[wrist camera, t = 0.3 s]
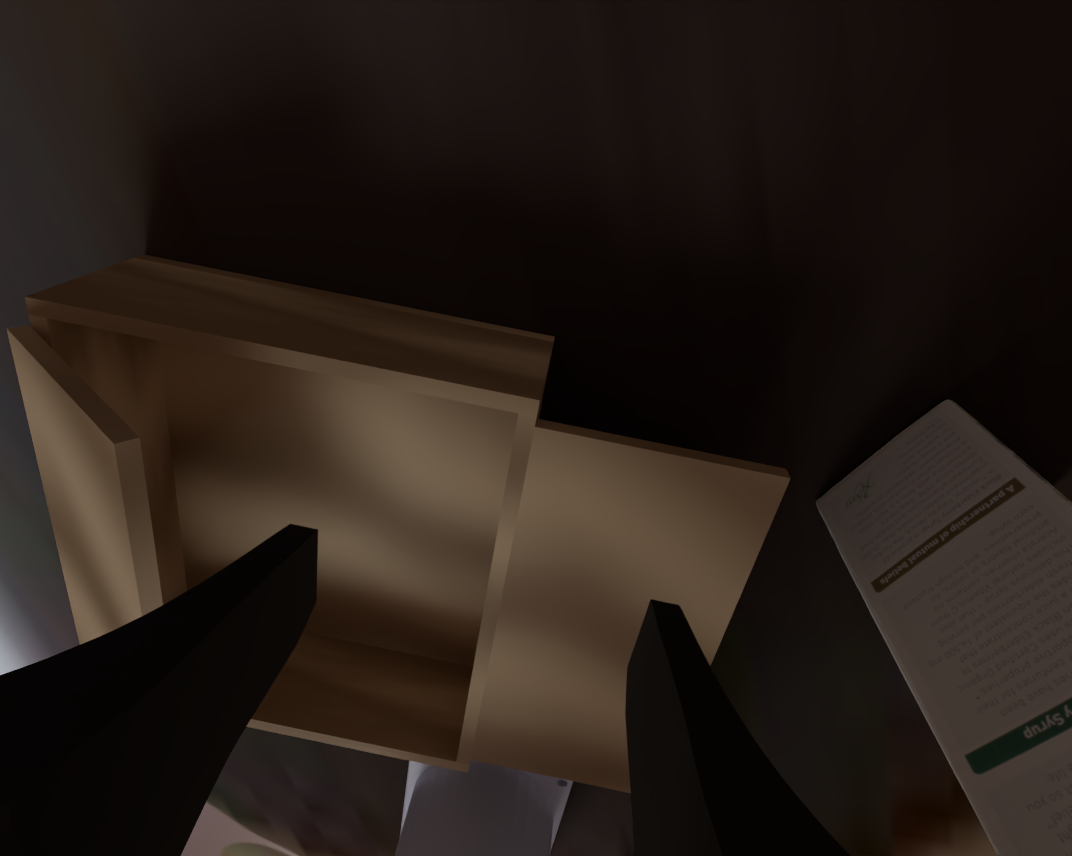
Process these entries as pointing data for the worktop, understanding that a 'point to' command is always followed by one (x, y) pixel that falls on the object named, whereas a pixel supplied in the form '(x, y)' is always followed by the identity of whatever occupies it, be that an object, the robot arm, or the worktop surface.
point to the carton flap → (89, 491)
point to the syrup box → (973, 612)
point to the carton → (412, 509)
